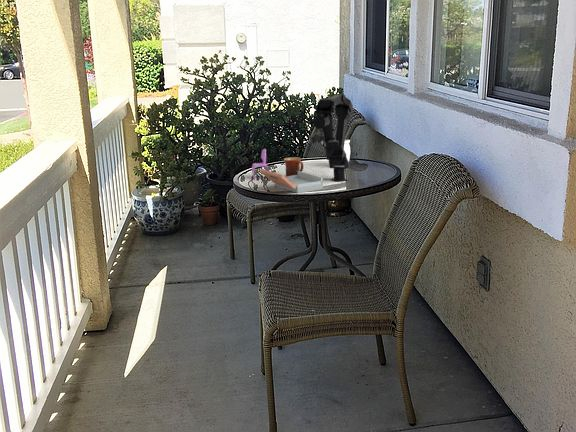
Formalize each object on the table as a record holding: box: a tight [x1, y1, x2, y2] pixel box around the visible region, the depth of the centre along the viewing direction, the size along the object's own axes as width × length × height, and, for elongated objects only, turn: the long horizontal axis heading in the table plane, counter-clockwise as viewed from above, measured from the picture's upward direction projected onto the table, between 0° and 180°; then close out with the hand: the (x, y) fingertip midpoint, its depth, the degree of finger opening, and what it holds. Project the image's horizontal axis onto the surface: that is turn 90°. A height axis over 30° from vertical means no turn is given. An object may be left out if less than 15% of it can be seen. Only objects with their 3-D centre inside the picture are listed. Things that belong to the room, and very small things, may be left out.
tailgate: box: [259, 168, 296, 189], centre depth 275 cm, size 2×20×10 cm
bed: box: [274, 171, 324, 194], centre depth 281 cm, size 14×21×6 cm
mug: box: [283, 156, 304, 177], centre depth 300 cm, size 12×9×10 cm
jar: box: [344, 138, 351, 163], centre depth 324 cm, size 11×10×15 cm
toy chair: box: [251, 148, 270, 180], centre depth 307 cm, size 8×9×15 cm
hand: (328, 159), depth 277 cm, fingers closed
